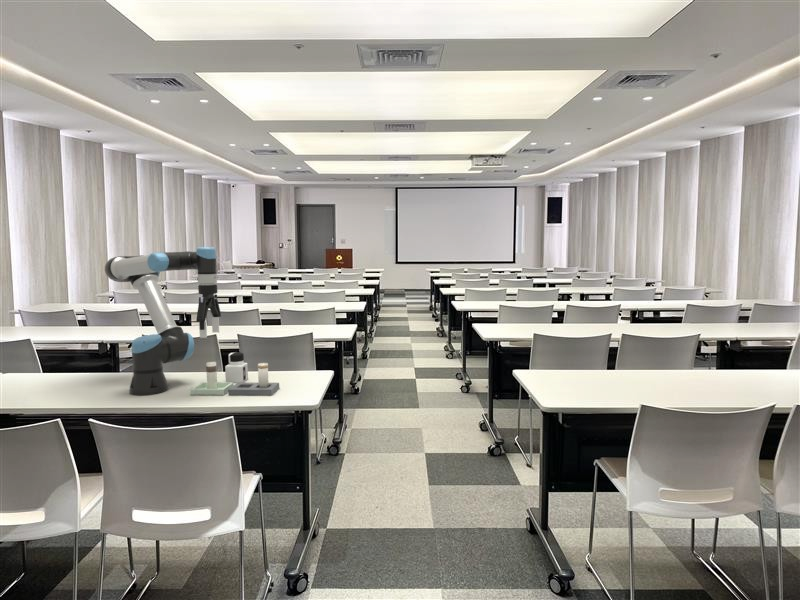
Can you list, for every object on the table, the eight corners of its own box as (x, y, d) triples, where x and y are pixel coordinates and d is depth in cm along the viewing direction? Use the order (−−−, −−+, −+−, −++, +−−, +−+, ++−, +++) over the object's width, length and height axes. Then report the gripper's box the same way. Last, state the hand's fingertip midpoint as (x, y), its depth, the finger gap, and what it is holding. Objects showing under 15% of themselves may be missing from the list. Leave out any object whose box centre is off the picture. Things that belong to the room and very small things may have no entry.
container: (248, 379, 268) (247, 351, 266) (242, 383, 260) (241, 354, 259) (232, 378, 268) (231, 351, 267) (225, 382, 261) (224, 354, 259)
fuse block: (228, 395, 239) (228, 389, 239) (238, 388, 251) (238, 382, 251) (271, 395, 238) (271, 389, 238) (279, 388, 250) (279, 382, 250)
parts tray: (190, 395, 240) (190, 389, 240) (202, 388, 252) (201, 382, 252) (223, 395, 239) (223, 389, 239) (233, 388, 251) (233, 382, 251)
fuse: (257, 393, 242) (256, 364, 241) (260, 390, 246) (259, 362, 245) (267, 393, 242) (266, 364, 241) (270, 390, 246) (269, 362, 245)
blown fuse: (205, 391, 243) (204, 363, 242) (209, 389, 248) (208, 361, 246) (215, 391, 243) (214, 363, 242) (219, 389, 247) (217, 361, 246)
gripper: (204, 286, 228) (206, 340, 230) (227, 282, 253) (229, 330, 255) (186, 286, 229) (188, 339, 231) (210, 282, 254) (212, 330, 256)
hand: (209, 334), depth 243 cm, fingers open, 13 cm apart
